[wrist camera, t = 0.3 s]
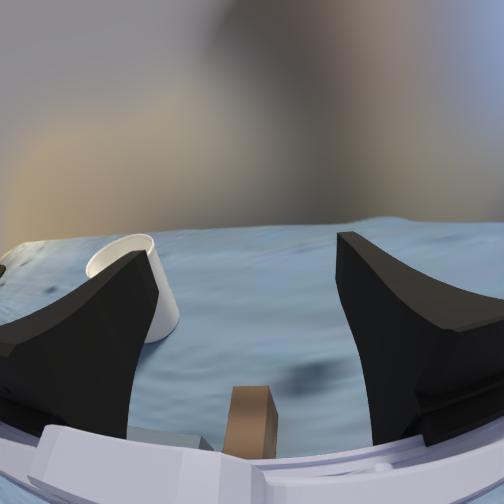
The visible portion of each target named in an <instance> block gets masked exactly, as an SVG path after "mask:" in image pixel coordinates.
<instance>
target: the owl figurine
mask: <svg viewBox="0 0 504 504" xmlns="http://www.w3.org/2000/svg"><path fill="white" fill-rule="evenodd" d="M5 270H6V267H5V266H4V265H0V278H1V276H2V275H3V274H4V272H5Z"/></svg>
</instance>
